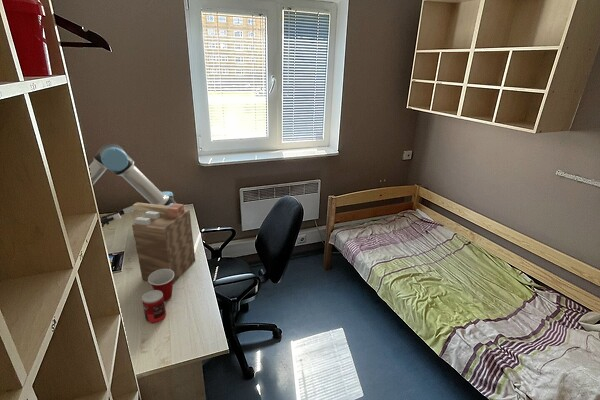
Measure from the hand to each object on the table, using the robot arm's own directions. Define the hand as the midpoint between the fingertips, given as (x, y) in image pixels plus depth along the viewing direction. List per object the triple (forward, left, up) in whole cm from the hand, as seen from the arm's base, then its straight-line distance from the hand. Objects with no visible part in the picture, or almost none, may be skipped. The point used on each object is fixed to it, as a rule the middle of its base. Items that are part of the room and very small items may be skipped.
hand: (127, 211), depth 169 cm
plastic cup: (+27, +35, -27) cm, 52 cm away
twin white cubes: (+12, +21, +3) cm, 25 cm away
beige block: (+2, +20, +3) cm, 20 cm away
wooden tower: (+7, +25, -27) cm, 38 cm away
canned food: (+39, +39, -27) cm, 61 cm away
